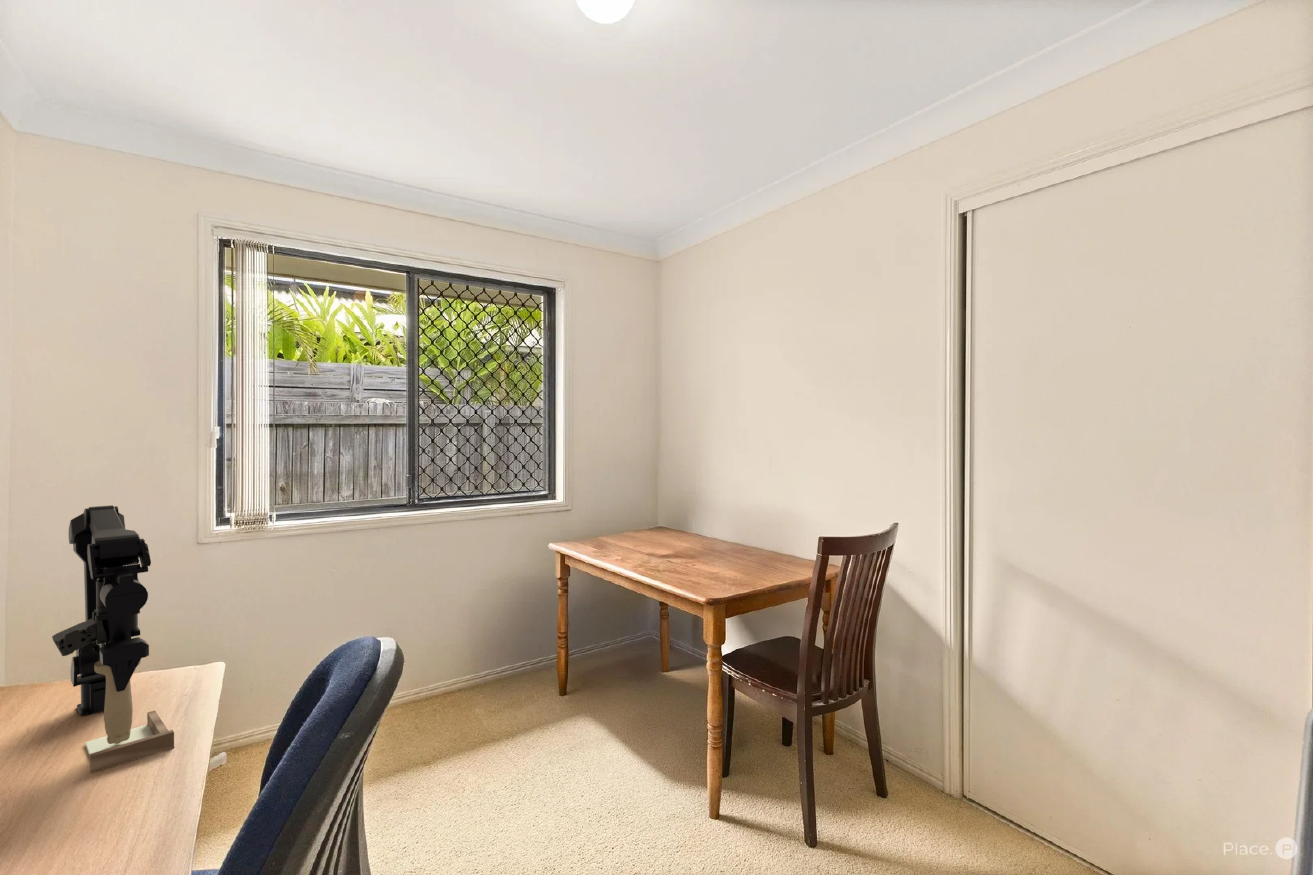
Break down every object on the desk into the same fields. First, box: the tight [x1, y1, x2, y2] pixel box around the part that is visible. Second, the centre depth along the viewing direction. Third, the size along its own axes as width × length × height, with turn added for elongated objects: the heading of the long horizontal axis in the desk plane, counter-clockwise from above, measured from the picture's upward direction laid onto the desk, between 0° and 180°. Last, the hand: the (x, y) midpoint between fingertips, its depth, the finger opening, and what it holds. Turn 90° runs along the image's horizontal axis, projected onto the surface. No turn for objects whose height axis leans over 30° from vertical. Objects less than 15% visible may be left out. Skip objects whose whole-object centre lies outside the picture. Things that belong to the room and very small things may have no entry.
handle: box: [94, 660, 142, 744], centre depth 113 cm, size 5×6×15 cm
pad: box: [84, 724, 153, 757], centre depth 114 cm, size 12×9×1 cm
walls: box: [89, 710, 175, 775], centre depth 114 cm, size 13×11×3 cm
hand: (118, 686), depth 113 cm, fingers closed on handle, 4 cm apart
